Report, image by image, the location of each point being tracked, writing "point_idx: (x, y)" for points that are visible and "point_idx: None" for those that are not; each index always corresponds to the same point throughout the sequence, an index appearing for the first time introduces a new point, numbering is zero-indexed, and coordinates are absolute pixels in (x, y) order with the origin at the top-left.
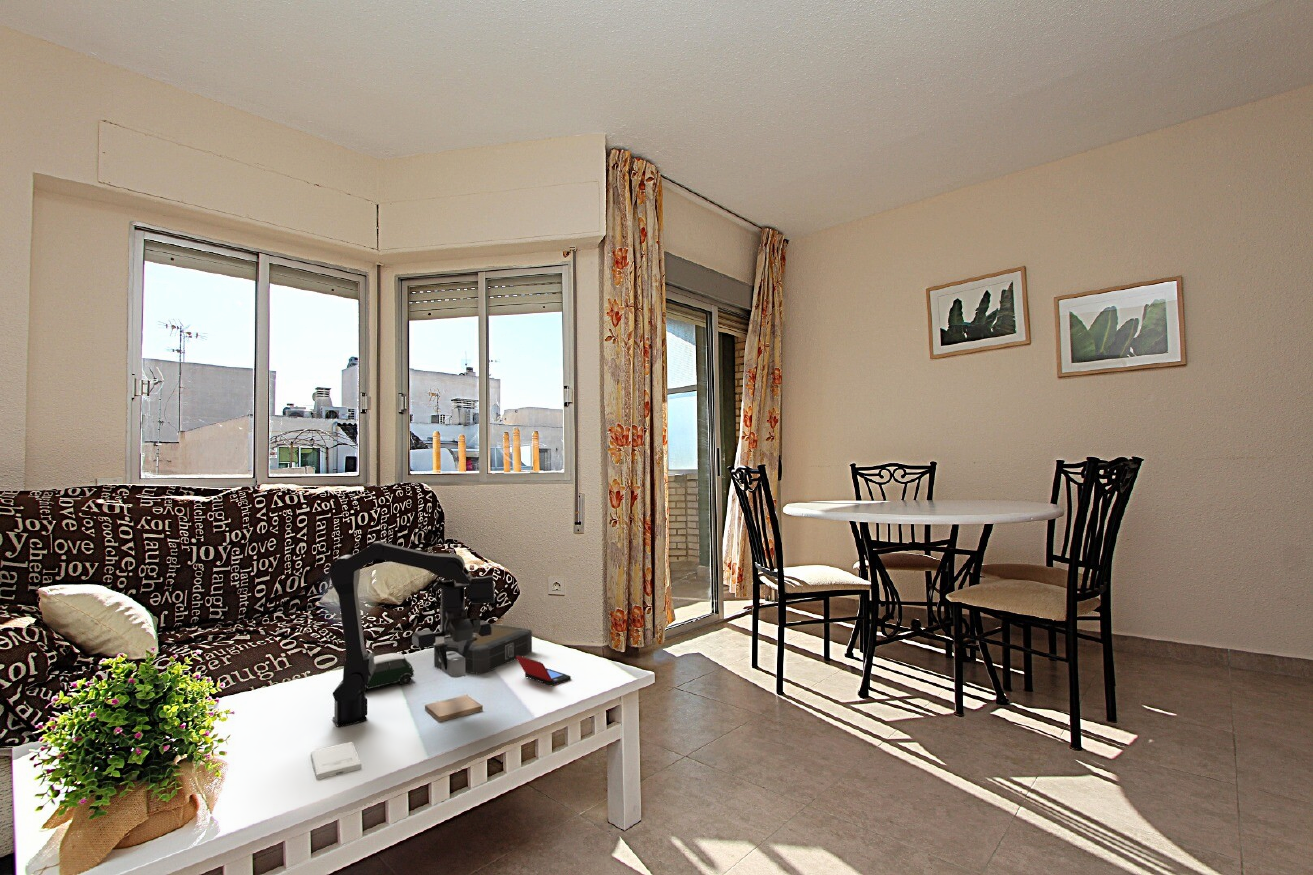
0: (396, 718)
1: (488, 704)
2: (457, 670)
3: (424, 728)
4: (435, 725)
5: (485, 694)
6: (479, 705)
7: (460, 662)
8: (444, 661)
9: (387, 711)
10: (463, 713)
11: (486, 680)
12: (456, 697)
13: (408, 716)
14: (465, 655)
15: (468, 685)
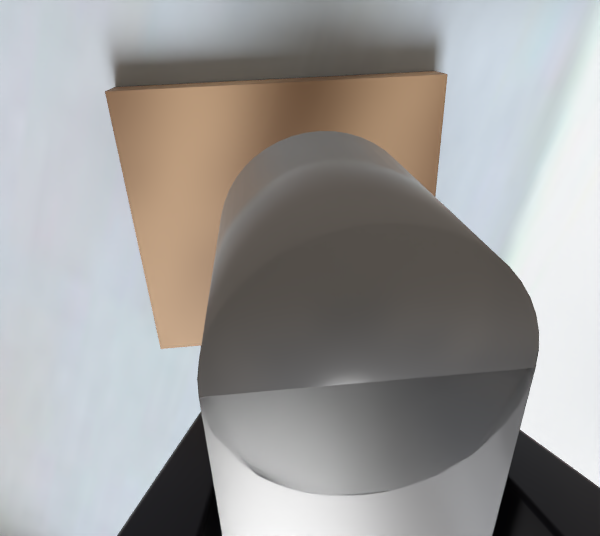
0: (575, 275)
1: (53, 179)
2: (386, 165)
3: (554, 13)
4: (479, 19)
5: (44, 348)
6: (127, 113)
7: (362, 206)
8: (531, 450)
9: (554, 380)
10: (262, 80)
11: (8, 515)
12: None
13: (519, 268)
14: (141, 516)
15: (113, 496)
